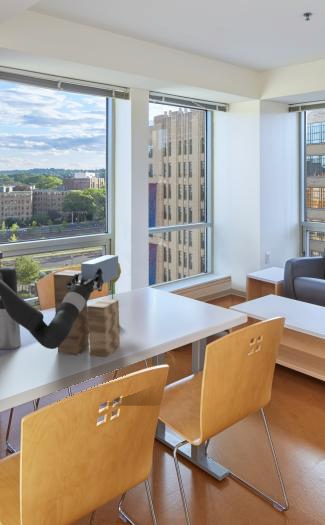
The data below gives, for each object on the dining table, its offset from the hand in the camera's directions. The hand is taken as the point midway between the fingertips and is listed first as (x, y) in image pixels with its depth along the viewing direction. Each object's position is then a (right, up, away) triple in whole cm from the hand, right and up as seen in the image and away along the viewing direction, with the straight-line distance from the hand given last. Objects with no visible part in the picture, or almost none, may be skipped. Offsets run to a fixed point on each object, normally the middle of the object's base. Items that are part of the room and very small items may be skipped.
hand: (93, 269), depth 178 cm
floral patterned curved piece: (-7, -29, +37) cm, 47 cm away
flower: (+3, -27, +47) cm, 54 cm away
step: (+3, -33, +11) cm, 35 cm away
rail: (+2, -5, +6) cm, 8 cm away
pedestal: (-10, -33, +13) cm, 37 cm away
